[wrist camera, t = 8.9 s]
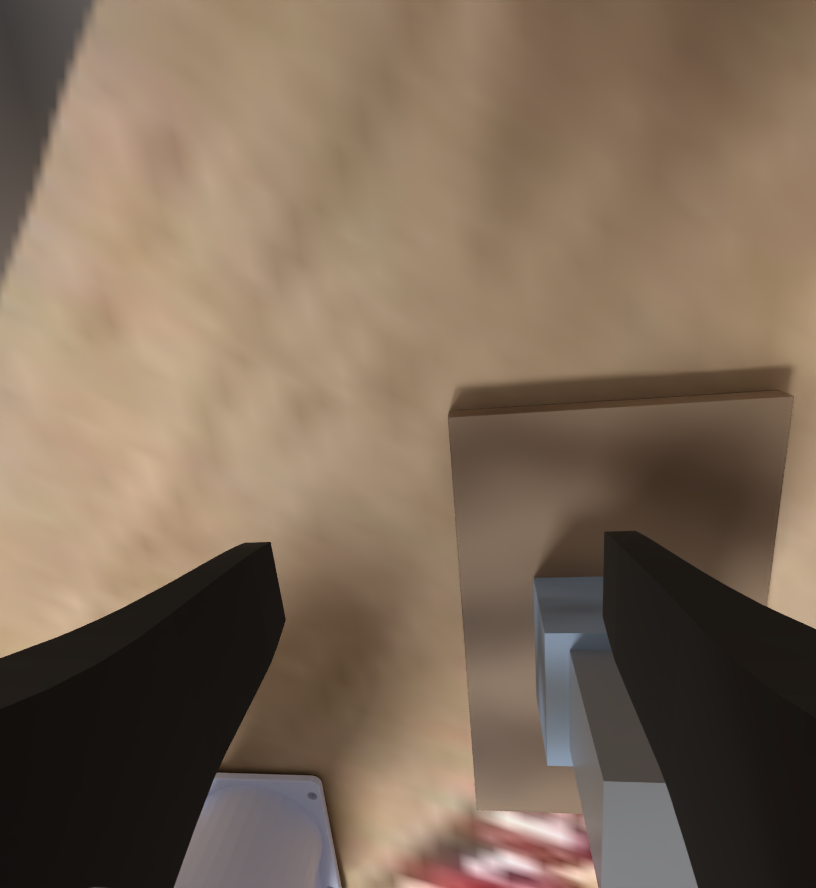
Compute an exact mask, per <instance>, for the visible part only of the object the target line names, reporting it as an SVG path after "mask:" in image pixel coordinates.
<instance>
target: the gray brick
mask: <svg viewBox="0 0 816 888" xmlns="http://www.w3.org/2000/svg"><path fill="white" fill-rule="evenodd" d="M570 753H571V758H572V762H573V767H574V772H575V777H576V782H577V786H578V791H579V796H580V801H581V806H582V810H583V815H584V820H585V825H586V830H587V835H588V839H589V844H590V849H591V854H592V859H593V863H594V868H595V873H596V878H597V883H598V887H599V888H698V886H697V883H696V879H695V876H694V873H693V869H692V866H691V862H690V859H689V856H688V852H687V849H686V846H685V843H684V839H683V836H682V833H681V830H680V827H679V824H678V820H677V817H676V814H675V811H674V808H673V804H672V801H671V798H670V795H669V792H668V789H667V786H666V784H665V781H664V778H663V776H662V773H661V770H660V768H659V765H658V762H657V760H656V758H655V755H654V753H653V751H652V748H651V746H650V744H649V741H648V739H647V737H646V734H645V732H644V730H643V727H642V725H641V722H640V720H639V718H638V715H637V713H636V711H635V708H634V706H633V704H632V701H631V699H630V697H629V694H628V692H627V689H626V687H625V685H624V682H623V680H622V677H621V675H620V673H619V670H618V668H617V665H616V663H615V660H614V657H613V653H612V650H570Z"/></svg>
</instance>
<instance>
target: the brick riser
mask: <svg viewBox="0 0 816 888" xmlns="http://www.w3.org/2000/svg"><path fill="white" fill-rule="evenodd" d="M793 400H794V396H792V395H789V394H786V393H784V392H781V391H779V390H774V391H758V392H742V393H727V394H711V395H695V396H679V397H663V398H648V399H632V400H616V401H600V402H584V403H569V404H553V405H537V406H521V407H505V408H490V409H474V410H458V411H449V415H448V424H449V438H450V451H451V465H452V479H453V492H454V506H455V519H456V533H457V547H458V560H459V574H460V587H461V601H462V615H463V628H464V642H465V655H466V669H467V683H468V696H469V710H470V724H471V737H472V751H473V764H474V778H475V792H476V805H477V810H493V811H520V812H546V813H573V814H583V810H582V806H581V801H580V796H579V791H578V786H577V782H576V777H575V772H574V767H573V762H572V758H571V753H570V650H611V646H610V643H609V639H608V635H607V632H606V628H605V624H604V620H603V570H604V532H607V531H637V532H639V533H641V534H643V535H645V536H646V537H648V538H650V539H651V540H653V541H655V542H656V543H658V544H659V545H661V546H663V547H664V548H666V549H667V550H669V551H670V552H672V553H674V554H675V555H677V556H678V557H680V558H682V559H683V560H685V561H686V562H688V563H690V564H691V565H693V566H694V567H696V568H698V569H699V570H701V571H703V572H704V573H706V574H708V575H709V576H711V577H713V578H714V579H716V580H718V581H720V582H721V583H723V584H725V585H727V586H728V587H730V588H732V589H734V590H736V591H738V592H740V593H742V594H743V595H745V596H747V597H749V598H751V599H753V600H755V601H756V602H758V603H760V604H762V605H764V606H766V607H767V600H768V592H769V585H770V577H771V569H772V562H773V554H774V546H775V539H776V531H777V523H778V515H779V508H780V500H781V492H782V485H783V477H784V469H785V462H786V454H787V446H788V439H789V431H790V423H791V415H792V408H793Z"/></svg>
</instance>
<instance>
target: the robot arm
mask: <svg viewBox="0 0 816 888" xmlns="http://www.w3.org/2000/svg"><path fill="white" fill-rule="evenodd" d="M285 620H286V619H285V614H284V609H283V604H282V599H281V594H280V588H279V583H278V578H277V573H276V568H275V562H274V557H273V552H272V547H271V542H257V543H243V544H241V545H238V546H236V547H234V548H232V549H230V550H228V551H226V552H224V553H222V554H220V555H218V556H217V557H215V558H213V559H211V560H209V561H208V562H206V563H204V564H202V565H201V566H199V567H197V568H195V569H194V570H192V571H190V572H188V573H187V574H185V575H183V576H181V577H179V578H178V579H176V580H174V581H172V582H171V583H169V584H167V585H165V586H163V587H161V588H160V589H158V590H156V591H154V592H152V593H150V594H148V595H146V596H144V597H143V598H141V599H139V600H137V601H135V602H133V603H131V604H129V605H127V606H125V607H124V608H122V609H120V610H117V611H115V612H113V613H111V614H109V615H107V616H105V617H103V618H101V619H99V620H96V621H94V622H92V623H89V624H87V625H85V626H83V627H80V628H78V629H76V630H73V631H71V632H69V633H66V634H64V635H62V636H59V637H57V638H54V639H51V640H49V641H46V642H43V643H40V644H38V645H35V646H32V647H30V648H27V649H24V650H22V651H19V652H16V653H14V654H11V655H8V656H5V657H3V658H0V888H342V886H341V881H340V876H339V871H338V865H337V860H336V855H335V849H334V844H333V839H332V834H331V828H330V823H329V818H328V812H327V807H326V802H325V797H324V791H323V786H322V782H321V780H320V779H319V778H318V777H316V776H312V775H281V774H248V773H217V771H218V769H219V767H220V764H221V762H222V760H223V758H224V756H225V753H226V751H227V750H228V748H229V746H230V744H231V742H232V740H233V738H234V736H235V734H236V732H237V730H238V728H239V726H240V724H241V722H242V720H243V718H244V716H245V714H246V712H247V710H248V708H249V706H250V704H251V702H252V700H253V698H254V696H255V694H256V692H257V690H258V688H259V686H260V684H261V682H262V680H263V678H264V676H265V674H266V672H267V670H268V668H269V666H270V664H271V662H272V659H273V656H274V654H275V651H276V648H277V645H278V642H279V639H280V636H281V633H282V630H283V626H284V623H285ZM603 620H604V624H605V628H606V632H607V635H608V639H609V643H610V646H611V650H612V653H613V657H614V660H615V663H616V665H617V668H618V670H619V673H620V675H621V677H622V680H623V682H624V685H625V687H626V689H627V692H628V694H629V697H630V699H631V701H632V704H633V706H634V708H635V711H636V713H637V715H638V718H639V720H640V722H641V725H642V727H643V730H644V732H645V734H646V737H647V739H648V741H649V744H650V746H651V748H652V751H653V753H654V755H655V758H656V760H657V762H658V765H659V768H660V770H661V773H662V776H663V778H664V781H665V784H666V786H667V789H668V792H669V795H670V798H671V801H672V804H673V808H674V811H675V814H676V817H677V820H678V824H679V827H680V830H681V833H682V836H683V839H684V843H685V846H686V849H687V852H688V856H689V859H690V862H691V866H692V869H693V873H694V876H695V879H696V883H697V886H698V888H816V629H814V628H812V627H810V626H807V625H805V624H803V623H801V622H799V621H796V620H794V619H792V618H790V617H787V616H785V615H783V614H781V613H779V612H777V611H774V610H772V609H770V608H768V607H766V606H764V605H762V604H760V603H758V602H756V601H755V600H753V599H751V598H749V597H747V596H745V595H743V594H742V593H740V592H738V591H736V590H734V589H732V588H730V587H728V586H727V585H725V584H723V583H721V582H720V581H718V580H716V579H714V578H713V577H711V576H709V575H708V574H706V573H704V572H703V571H701V570H699V569H698V568H696V567H694V566H693V565H691V564H690V563H688V562H686V561H685V560H683V559H682V558H680V557H678V556H677V555H675V554H674V553H672V552H670V551H669V550H667V549H666V548H664V547H663V546H661V545H659V544H658V543H656V542H655V541H653V540H651V539H650V538H648V537H646V536H645V535H643V534H641V533H639V532H637V531H607V532H604V570H603Z"/></svg>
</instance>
